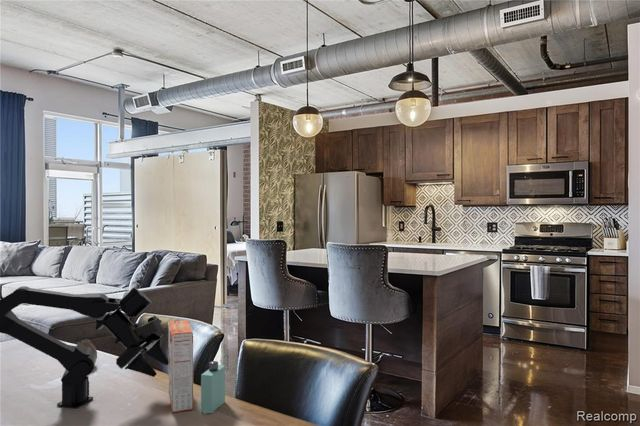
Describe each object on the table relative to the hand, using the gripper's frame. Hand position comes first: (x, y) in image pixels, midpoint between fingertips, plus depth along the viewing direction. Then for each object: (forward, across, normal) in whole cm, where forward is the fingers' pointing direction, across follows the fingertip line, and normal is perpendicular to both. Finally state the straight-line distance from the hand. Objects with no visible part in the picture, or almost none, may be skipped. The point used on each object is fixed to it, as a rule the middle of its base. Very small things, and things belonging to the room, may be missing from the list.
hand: (162, 369), depth 131 cm
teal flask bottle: (+17, -4, -5) cm, 18 cm away
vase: (-19, +24, +31) cm, 44 cm away
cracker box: (+10, -1, +2) cm, 10 cm away
